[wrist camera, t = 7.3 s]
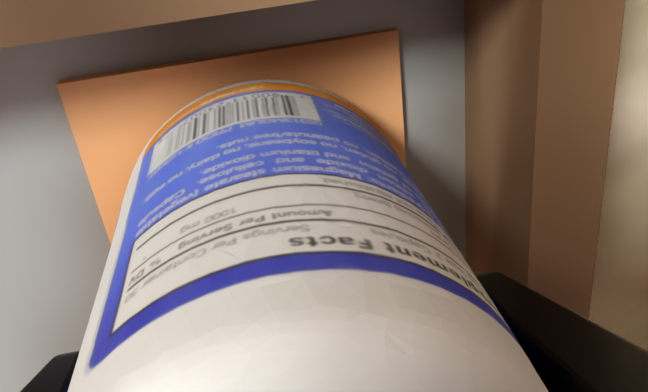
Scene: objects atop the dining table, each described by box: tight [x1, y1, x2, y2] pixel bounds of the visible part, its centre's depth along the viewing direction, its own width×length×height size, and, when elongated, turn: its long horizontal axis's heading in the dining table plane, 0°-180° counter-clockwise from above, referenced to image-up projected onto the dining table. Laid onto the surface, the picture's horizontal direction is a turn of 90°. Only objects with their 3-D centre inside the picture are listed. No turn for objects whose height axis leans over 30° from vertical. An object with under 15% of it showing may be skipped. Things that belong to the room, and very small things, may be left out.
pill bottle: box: [68, 79, 548, 392], centre depth 8 cm, size 5×5×10 cm
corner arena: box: [0, 0, 625, 392], centre depth 12 cm, size 14×14×4 cm
